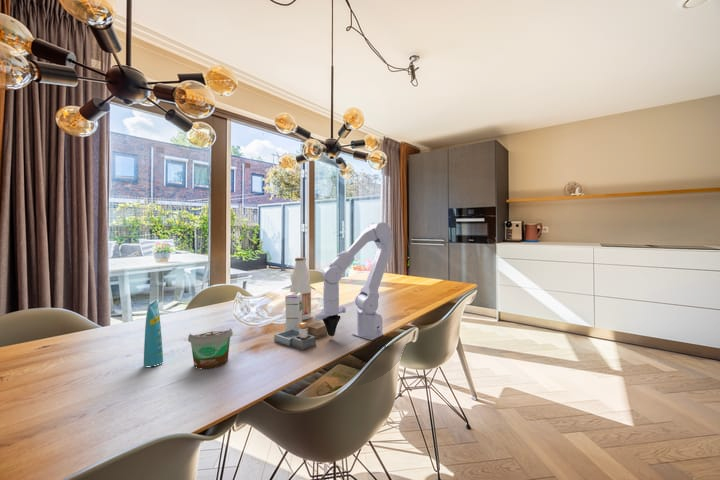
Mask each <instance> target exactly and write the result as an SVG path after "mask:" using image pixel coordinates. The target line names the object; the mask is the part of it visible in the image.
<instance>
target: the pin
mask: <svg viewBox="0 0 720 480" xmlns="http://www.w3.org/2000/svg"><path fill="white" fill-rule="evenodd" d="M308 324H309V322H307V321H303V322H301V323H299V339H301V340H305V339H307V338H308Z"/></svg>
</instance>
